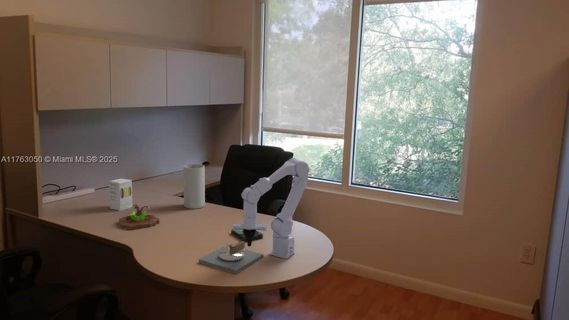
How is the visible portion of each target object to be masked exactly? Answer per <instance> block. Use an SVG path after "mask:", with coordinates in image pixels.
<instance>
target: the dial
mask: <svg viewBox="0 0 569 320" xmlns="http://www.w3.org/2000/svg"><path fill="white" fill-rule="evenodd" d="M245 243H246V242H244V241H243V240H241V241H240V242H237V243H235V244H232V243H231V244H228V245H229V248H230V249H226V250H223V251H221V252H220V253H219V258H220V259H221V260H223V261H229V262H233V261H239V260H241V259H243V258H244V252H243V251H242V249H246V248H245V247H246V244H245Z"/></svg>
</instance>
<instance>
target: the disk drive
mask: <svg viewBox="0 0 569 320" xmlns="http://www.w3.org/2000/svg"><path fill="white" fill-rule="evenodd" d="M230 232H231V233H230V234H232V235H233V236H235V237H236V238H238V239H240V240H241V241H244V242H245V243H247V240H246V238H245V235H244V233H243V230H241V229H235V230H233V228H231V231H230ZM263 238H264V234H263V233H261V232H260V231H259V230H256V232H255V235H254V237H253V239H252V242H253V241H257V240H263Z"/></svg>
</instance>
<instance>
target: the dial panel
mask: <svg viewBox="0 0 569 320" xmlns="http://www.w3.org/2000/svg"><path fill="white" fill-rule="evenodd" d="M229 245H230V244H226V245H224V246H222V247H220V248H219V249H216V250H214V251H212V252H210V253H208V254H207V255H204V256H202V257H201V258H199V259H198V263H199V264H202V265H206V266H209V267H212V268H216V269H219V270H222V271H225V272H228V273H232V274H235V275H238V274H239V273H241V272H242V271H243V270H245V269H247V268H249V267H250V266H251V265H254V264H255V263H257V262H259V261H260V260H262V259H264V254H263V253H259V252H256V251H252V250H248V249H246V248H244V249H242V251H243V252H244V258H243V259H241V260H239V261H233V262H229V261H223V260H221V259H220V258H219V253H220V252H221V251H223V250H226V249H230V248H229Z"/></svg>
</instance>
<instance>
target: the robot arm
mask: <svg viewBox="0 0 569 320" xmlns="http://www.w3.org/2000/svg"><path fill="white" fill-rule="evenodd" d="M310 171H311V168H310V167H309V164H308V162H306V161H305V160H300V159H298V158H296V157H292V158H290V159H288V160H287V161H285V162H284V164H283V165H282V166H281V167H280V166H279V168H278V169H276V171H274V172H273V173H272V174H271V175H270V176H268V177H261V178H259V179H258V181H257V182H255V183H254V184H251V185H250V187H245V188H244V189H243V190H242V193H241V194H240V195H241V198H242V200H243V216H242V217H243V220H242V221H243V222H242V223H233V225H232V229H233V230H235V229H241V230H243V233H244V235H245V238H246V240H247V242H246V244H247V247H252V242H253V241H252V239H253V237H254V235H255V232H256V231H263V232H267V229H268V226H267V225H264V224H259V223H258V224H257V219H258V218H257V217H258V216H257V214H258V213H257V212H258V206H257V205H258V202H259V200H260V198H261V196H263V195H264V194H265V193H267V192H268V191H270V190H271V189H272V188H273V184H275V183H277V182H278V181H280V180H281V179H283V178H284V177H286V176H288V175H290V176H292V177H293V179H294V183H293V185H292V187H291V189H290V192H289V193H288V196H287V198H286V200H285V203H284V205H283V207H282V209H281V212H279V213H277V214H276V216H275V218H274V219H272V220H271V222H270V228H271V230H272V251H270V252H268V255H270V256H275V257H278V258H281V259H285V260H286V259H288V258H290V257H291V256H293V255H295V254H296V252H295V237H292V236H291V234H292V232H293V229H292V228H293V225H294V221H293V216H294V213H295V212H296V209H297V207H298V205H299V203H300V200H301V198H302V197H303V195H304V194H303V193H304V192H305V189H306V187H307V185H308V183H309V173H310Z"/></svg>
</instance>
